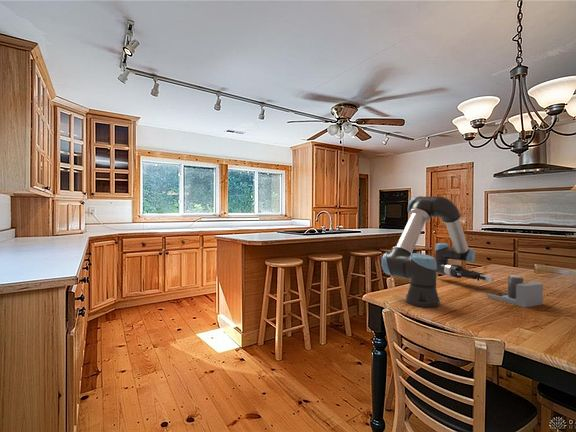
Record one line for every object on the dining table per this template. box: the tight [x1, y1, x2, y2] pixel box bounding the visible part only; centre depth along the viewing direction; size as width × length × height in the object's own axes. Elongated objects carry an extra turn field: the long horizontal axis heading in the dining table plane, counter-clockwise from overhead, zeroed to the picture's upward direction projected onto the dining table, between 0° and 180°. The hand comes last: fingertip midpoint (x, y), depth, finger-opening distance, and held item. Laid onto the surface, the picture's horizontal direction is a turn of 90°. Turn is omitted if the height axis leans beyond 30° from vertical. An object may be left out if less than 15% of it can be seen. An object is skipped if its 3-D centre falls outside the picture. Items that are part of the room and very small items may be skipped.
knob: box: [501, 274, 524, 301], centre depth 147 cm, size 8×8×12 cm
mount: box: [486, 281, 544, 308], centre depth 148 cm, size 13×18×10 cm
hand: (492, 279), depth 158 cm, fingers closed
